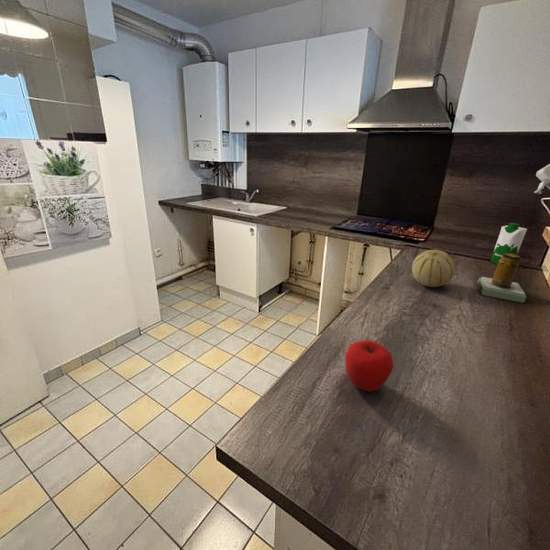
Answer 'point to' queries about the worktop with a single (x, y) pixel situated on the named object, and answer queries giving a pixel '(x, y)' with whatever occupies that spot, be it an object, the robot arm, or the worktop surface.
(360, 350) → the apple
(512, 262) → the condiment
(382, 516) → the worktop surface
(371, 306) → the worktop surface
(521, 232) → the milk carton
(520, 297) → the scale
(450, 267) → the cantaloupe
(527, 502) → the worktop surface
